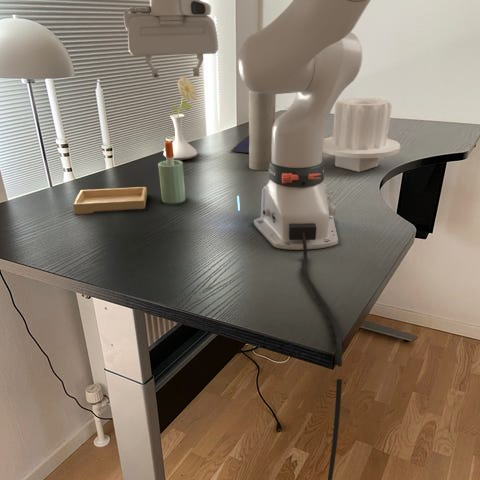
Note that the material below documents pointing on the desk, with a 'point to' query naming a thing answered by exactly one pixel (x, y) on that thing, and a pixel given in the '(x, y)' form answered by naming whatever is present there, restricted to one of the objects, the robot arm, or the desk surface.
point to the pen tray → (110, 199)
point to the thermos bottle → (260, 129)
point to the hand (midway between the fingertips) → (176, 76)
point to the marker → (169, 153)
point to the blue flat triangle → (242, 146)
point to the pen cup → (172, 182)
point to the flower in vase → (180, 145)
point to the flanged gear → (360, 133)
